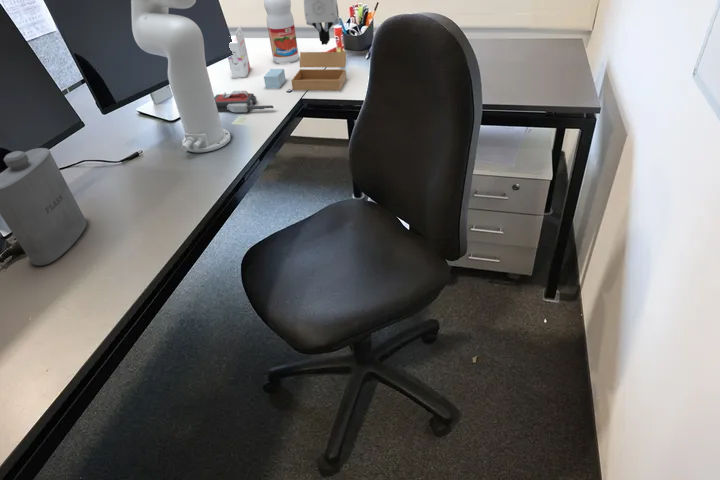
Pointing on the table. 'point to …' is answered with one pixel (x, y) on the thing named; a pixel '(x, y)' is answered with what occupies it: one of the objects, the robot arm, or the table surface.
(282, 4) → the fruit juice
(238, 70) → the ink cartridge box
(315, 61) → the flap
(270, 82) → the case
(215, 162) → the table surface
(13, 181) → the flask
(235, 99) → the toy chainsaw
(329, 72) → the carton
